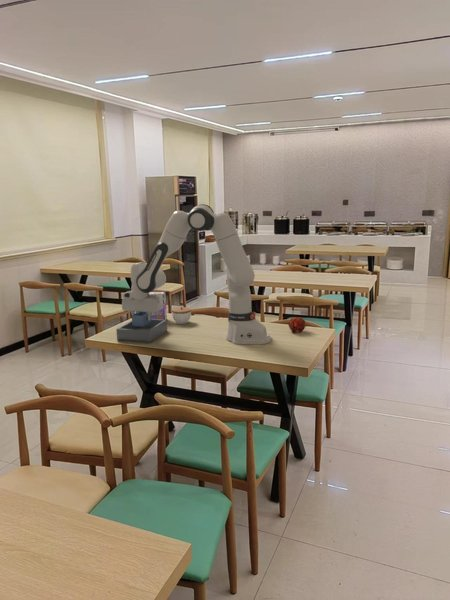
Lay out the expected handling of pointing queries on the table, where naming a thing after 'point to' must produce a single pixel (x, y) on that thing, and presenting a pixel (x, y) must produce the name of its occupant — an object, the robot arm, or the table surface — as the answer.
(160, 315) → the candy box
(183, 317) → the lidded jar
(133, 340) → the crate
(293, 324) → the dragon fruit
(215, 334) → the table surface
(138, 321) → the tote
